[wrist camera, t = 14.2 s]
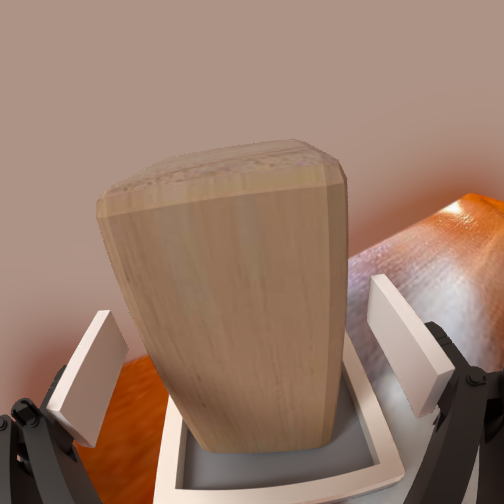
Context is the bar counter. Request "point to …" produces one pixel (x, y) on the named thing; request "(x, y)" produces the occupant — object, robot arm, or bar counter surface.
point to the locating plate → (287, 457)
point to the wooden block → (238, 288)
